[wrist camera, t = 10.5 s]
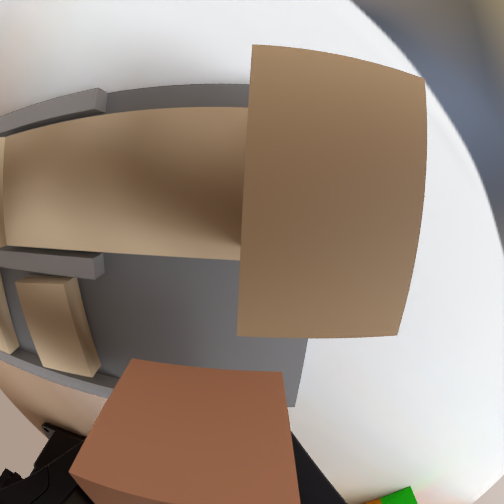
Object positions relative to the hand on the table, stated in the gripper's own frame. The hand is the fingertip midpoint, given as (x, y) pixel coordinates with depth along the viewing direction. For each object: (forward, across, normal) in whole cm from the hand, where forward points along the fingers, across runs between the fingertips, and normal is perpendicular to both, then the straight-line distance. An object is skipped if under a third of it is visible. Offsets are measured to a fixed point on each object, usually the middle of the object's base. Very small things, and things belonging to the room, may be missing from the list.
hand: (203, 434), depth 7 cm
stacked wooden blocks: (+4, +3, -7) cm, 9 cm away
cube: (+1, 0, 0) cm, 1 cm away
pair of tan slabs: (+4, +11, -1) cm, 12 cm away
